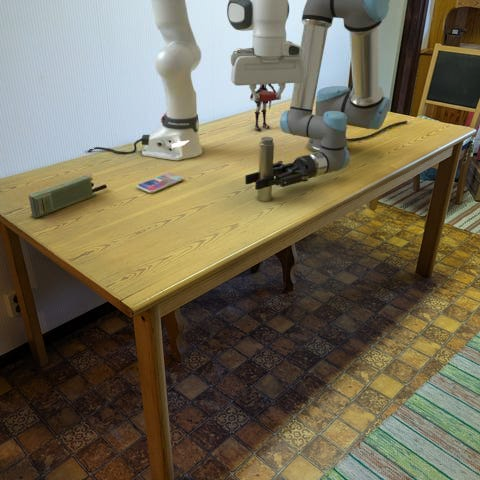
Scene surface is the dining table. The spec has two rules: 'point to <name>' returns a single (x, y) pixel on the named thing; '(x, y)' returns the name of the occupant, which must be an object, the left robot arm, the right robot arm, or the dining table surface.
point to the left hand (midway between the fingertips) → (266, 100)
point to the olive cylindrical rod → (265, 166)
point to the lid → (267, 95)
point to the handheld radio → (62, 195)
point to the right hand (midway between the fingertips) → (251, 182)
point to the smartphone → (159, 182)
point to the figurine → (262, 88)
